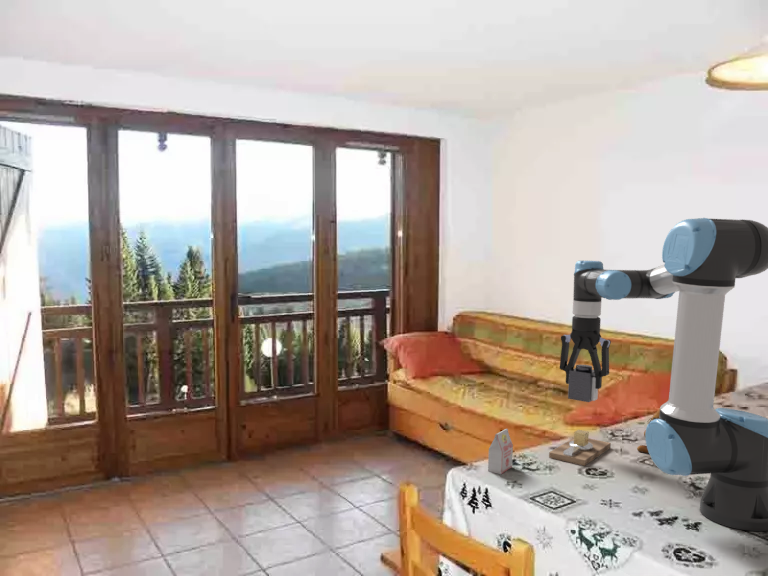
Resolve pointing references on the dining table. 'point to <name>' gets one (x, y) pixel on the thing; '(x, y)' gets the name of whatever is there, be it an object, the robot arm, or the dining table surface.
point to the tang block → (580, 449)
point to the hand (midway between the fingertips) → (582, 397)
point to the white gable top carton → (500, 453)
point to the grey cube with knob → (581, 383)
